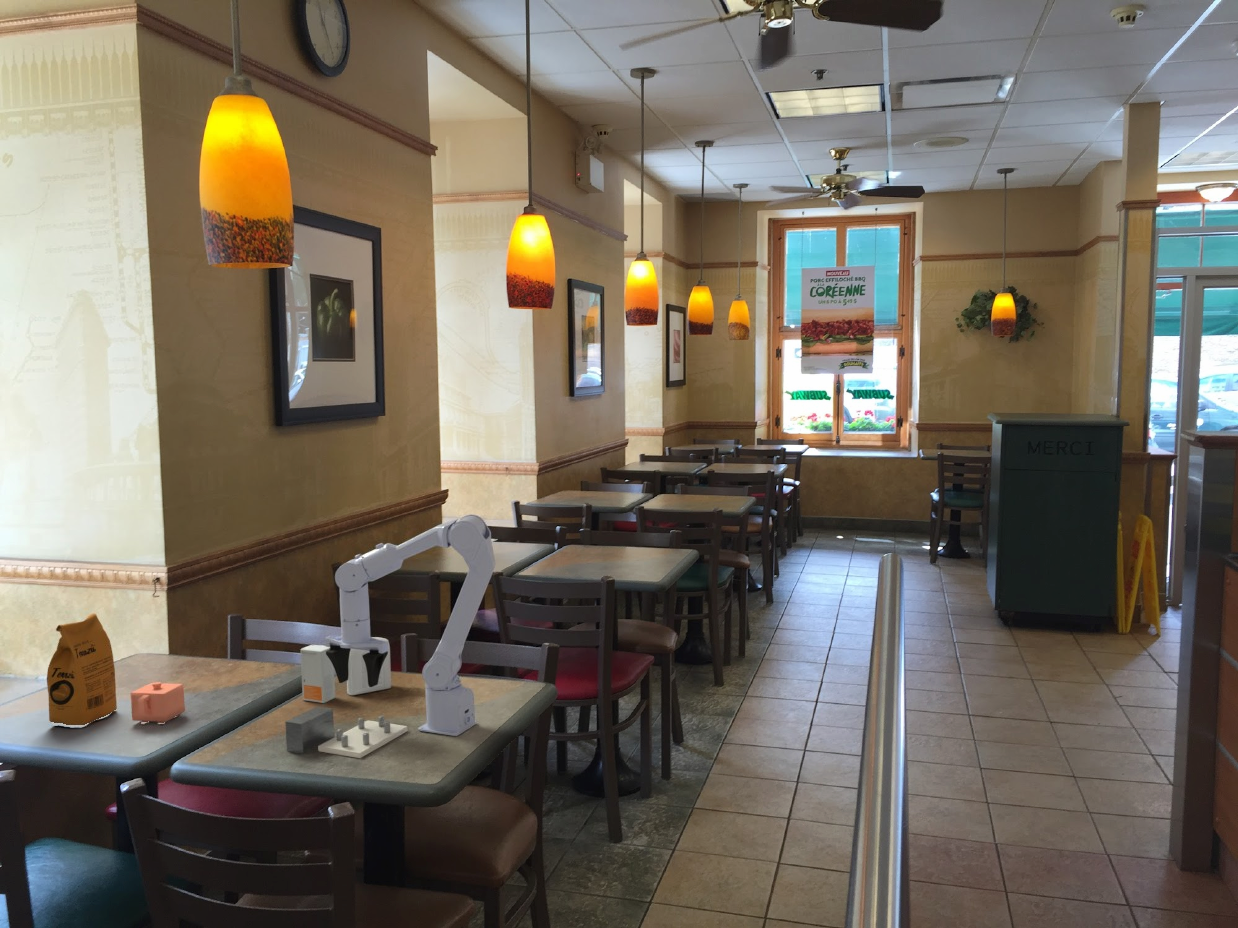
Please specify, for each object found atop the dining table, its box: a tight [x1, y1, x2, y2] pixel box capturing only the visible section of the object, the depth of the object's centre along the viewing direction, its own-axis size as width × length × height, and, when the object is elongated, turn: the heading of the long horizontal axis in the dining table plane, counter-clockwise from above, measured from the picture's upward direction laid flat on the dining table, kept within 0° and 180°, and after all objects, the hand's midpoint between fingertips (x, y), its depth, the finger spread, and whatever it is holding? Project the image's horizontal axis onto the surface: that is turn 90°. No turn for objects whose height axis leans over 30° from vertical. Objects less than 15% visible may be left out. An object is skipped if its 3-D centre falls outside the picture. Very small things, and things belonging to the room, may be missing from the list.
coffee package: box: [46, 613, 118, 725], centre depth 206 cm, size 10×12×22 cm
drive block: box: [284, 706, 335, 755], centre depth 189 cm, size 4×9×6 cm, turn 156°
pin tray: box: [317, 715, 408, 759], centre depth 190 cm, size 10×15×3 cm, turn 156°
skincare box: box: [299, 644, 336, 704], centre depth 216 cm, size 6×4×12 cm
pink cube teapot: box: [130, 681, 186, 724], centre depth 205 cm, size 8×12×8 cm, turn 170°
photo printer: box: [346, 636, 392, 696], centre depth 221 cm, size 10×4×12 cm, turn 123°
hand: (358, 683), depth 197 cm, fingers open, 7 cm apart
